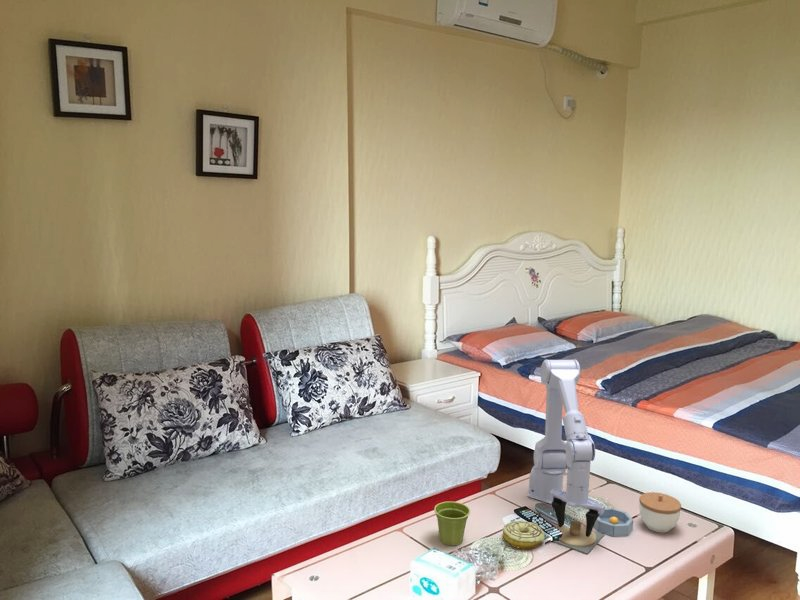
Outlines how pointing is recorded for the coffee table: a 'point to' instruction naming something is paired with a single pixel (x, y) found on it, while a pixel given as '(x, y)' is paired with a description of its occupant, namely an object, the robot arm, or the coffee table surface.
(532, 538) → the decorated donut
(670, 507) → the lidded jar
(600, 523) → the bowl
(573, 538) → the lid
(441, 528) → the plant pot
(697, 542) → the coffee table surface
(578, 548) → the mat
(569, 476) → the robot arm
